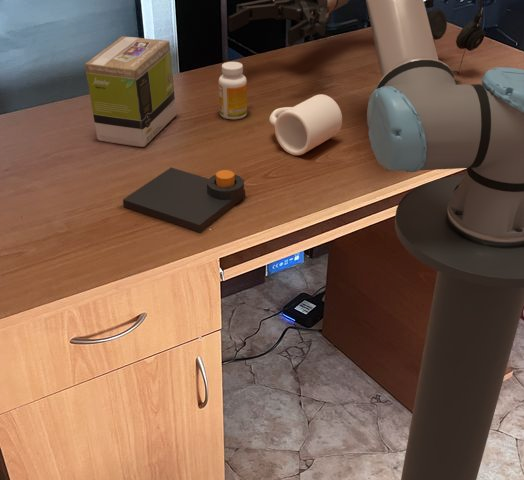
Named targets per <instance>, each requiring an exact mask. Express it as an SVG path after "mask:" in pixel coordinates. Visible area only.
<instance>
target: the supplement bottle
mask: <svg viewBox="0 0 524 480" xmlns="http://www.w3.org/2000/svg"><path fill="white" fill-rule="evenodd" d="M221 73H222V74H221V75H220V76H219V78H218V98H219V99H218V101H219V102H218V103H219V104H218V105H219V115H220V116H221V117H222V118H223V119H227V120H240V119H243V118H245V117H246V116H247V114H248V80H247V77H246V76H245V74H243V73H244V65H243V63H241V62H239V61H227V62H226V61H225V62H224V63H222V65H221Z"/></svg>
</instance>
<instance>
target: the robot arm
mask: <svg viewBox="0 0 524 480" xmlns="http://www.w3.org/2000/svg"><path fill="white" fill-rule="evenodd" d="M350 1H351V0H254V1H247V2H244V3H243V2H242V3H238V4H236V12H234V13H233V14H231V15H229V16H228V17H227V18H228V19H227V22H228V32H231V33H232V32H235V31H237V30H238V29H240V28H242V27H243V26H246V25H248V24H249V23H250V21H257V20H258V21H259V20H266V19H275V20H276V21H279V20H288V21H292V20H294V21H295V22H296V23H297V24H295V25H294V26H291V27H290V28H289V29H288V30H287V31H288V32H287V33H288V34H287V44H288V45H293V44H295V43H297V42H298V41H301V40H302V39H303V38H306V37H308V36H309V35H315V34H316V33H318V36H325V34H326V23H327V22H328V21H329V20H330V13H332V12H334V11H336V10H337V9H340V8H342V7H343V6H345V5H346V4H347V5H348V3H349V2H350ZM365 4H366V8H367V14H368V19H369V23H370V27H371V28H370V29H371V34H372V37H373V41H374V42H373V43H374V47H375V52H376V56H377V57H376V58H377V62H378V66H379V67H378V68H379V71H380V75H381V78H380V80H379V81H378V83H377V85H376V88H375V89H374V90H373V91H372V93H371V94H370V96H369V99H368V103H367V109H366V110H367V111H366V123H367V124H366V125H367V126H368V139H369V143H370V147H371V150H372V153H373V155H374V157H375V159H376V161H377V162H378V164H379V165H380V166H381V167H382V168H384V169H385V170H387V171H392V172H406V173H417V172H419V171H436V170H438V171H439V170H456V169H458V170H459V169H466V170H465V174H464V175H463V176H464V177H463V179H462V181H461V182H460V183H459V184H458V185H457V186H456V188H455V189H454V191H455V190H456V191H455V193H454V195H453V196H452V198H451V200H450V202H449V204H448V208H447V214H446V221H447V223H448V225H449V227H450V228H451V229H452V230H453V231H454V232H455V233H456V234H458V235H459V236H461V237H463V238H465V239H467V240H469V241H471V242H474V243H477V244H480V245H484V246H489V247H496V248H517V247H523V246H524V69H522V68H518V67H505V66H500V67H499V66H498V67H493V68H490V69H488V70H486V71H485V73H484V75H483V76H482V77H481V83H474V84H470V83H469V84H456V83H457V81H455V80H456V79H455V76H454V72H452V71H453V70H452V69H451V68H450V66H449V65H448V64H447V63H445V62H443V61H442V60H439V57H438V53H437V49H436V44H434V43H435V39H434V40H433V36H432V32H431V28H430V24H429V20H428V17H427V13H428V12H427V8H426V4H425V1H424V0H365ZM317 21H318V22H317ZM454 191H453V192H454Z"/></svg>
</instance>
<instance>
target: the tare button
mask: <svg viewBox="0 0 524 480" xmlns="http://www.w3.org/2000/svg"><path fill="white" fill-rule="evenodd" d="M215 175H216V185H217V186H219V187H231V186H234V184H235V175H236V173H235V172H234V171H232V170H230V169H222V170H219V171H217V172H215Z"/></svg>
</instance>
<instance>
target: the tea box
mask: <svg viewBox="0 0 524 480" xmlns="http://www.w3.org/2000/svg"><path fill="white" fill-rule="evenodd" d="M171 55H172V54H171V45H170V40H165V39H153V38H146V37H145V38H143V37H134V36H126V35H121V37H119V38H118V39H116V40H115V41H114V42H113V43H111V44H110V45H109V46H107V47H106V48H104V49H103V50H102V51H100V52H99V53H98V54H96V55H95V56H94V57H92V58H91V59H90V60H89V61H87V62H86V63H85V73H86V80H87V85H88V91H89V98H90V103H91V109H92V115H93V121H94V129H95V134H96V139H97V140H98V141H100V142H105V143H111V144H118V145H126V146H131V147H139V148H144V147H146V146H147V145H148V144H149V143H150V142H151V141H152V140H153V139H154V138H155V137H156V136H157V135H158V134H159V133H160V132H161V131H162V130H163V129H164V128H165V127H166V126H167V125H168V124H169V123H170V122H171V121H173V119H174V118H175V117H176V116H177V107H176V104H177V103H176V97H175V86H174V74H173V64H172V57H171Z"/></svg>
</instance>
